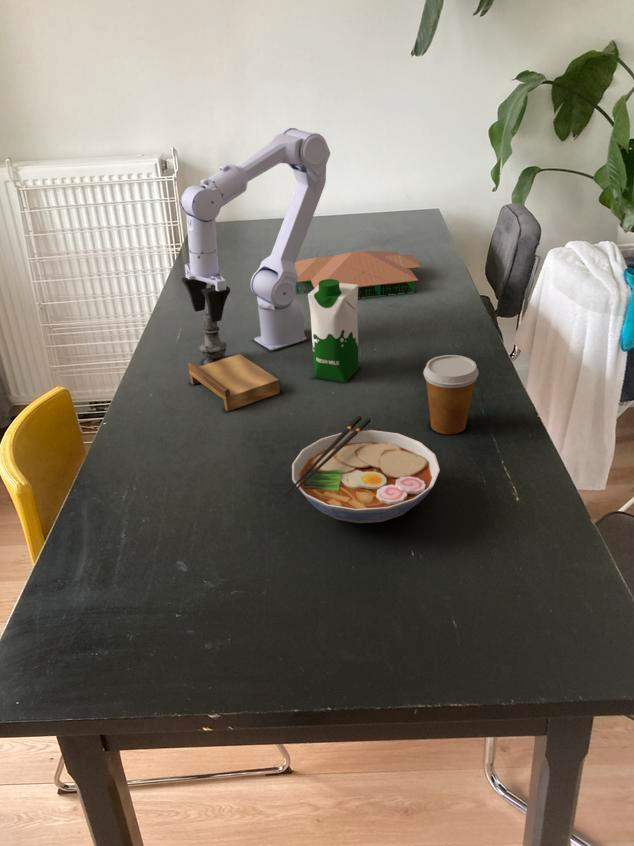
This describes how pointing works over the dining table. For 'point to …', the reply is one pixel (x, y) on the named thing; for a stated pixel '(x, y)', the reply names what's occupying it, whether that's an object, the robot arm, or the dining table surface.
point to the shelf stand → (235, 381)
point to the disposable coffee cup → (450, 391)
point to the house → (359, 269)
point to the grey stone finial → (212, 341)
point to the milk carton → (334, 329)
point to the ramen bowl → (365, 474)
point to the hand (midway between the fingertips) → (207, 315)
